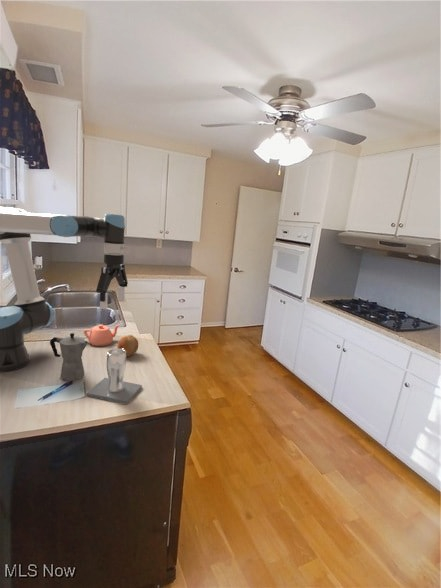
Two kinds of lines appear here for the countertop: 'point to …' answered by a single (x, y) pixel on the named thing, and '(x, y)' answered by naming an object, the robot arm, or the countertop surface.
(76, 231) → the robot arm
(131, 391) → the slate board
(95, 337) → the teapot
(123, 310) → the countertop surface
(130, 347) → the onion
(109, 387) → the beer glass
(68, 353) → the coffeepot
